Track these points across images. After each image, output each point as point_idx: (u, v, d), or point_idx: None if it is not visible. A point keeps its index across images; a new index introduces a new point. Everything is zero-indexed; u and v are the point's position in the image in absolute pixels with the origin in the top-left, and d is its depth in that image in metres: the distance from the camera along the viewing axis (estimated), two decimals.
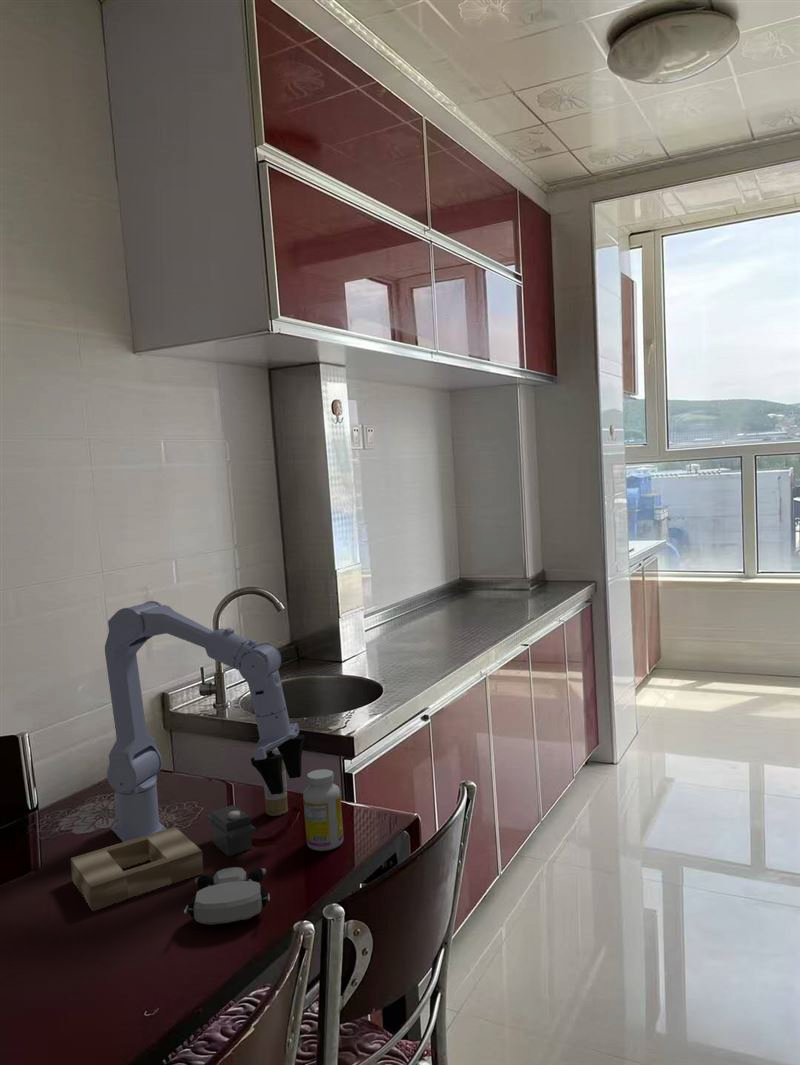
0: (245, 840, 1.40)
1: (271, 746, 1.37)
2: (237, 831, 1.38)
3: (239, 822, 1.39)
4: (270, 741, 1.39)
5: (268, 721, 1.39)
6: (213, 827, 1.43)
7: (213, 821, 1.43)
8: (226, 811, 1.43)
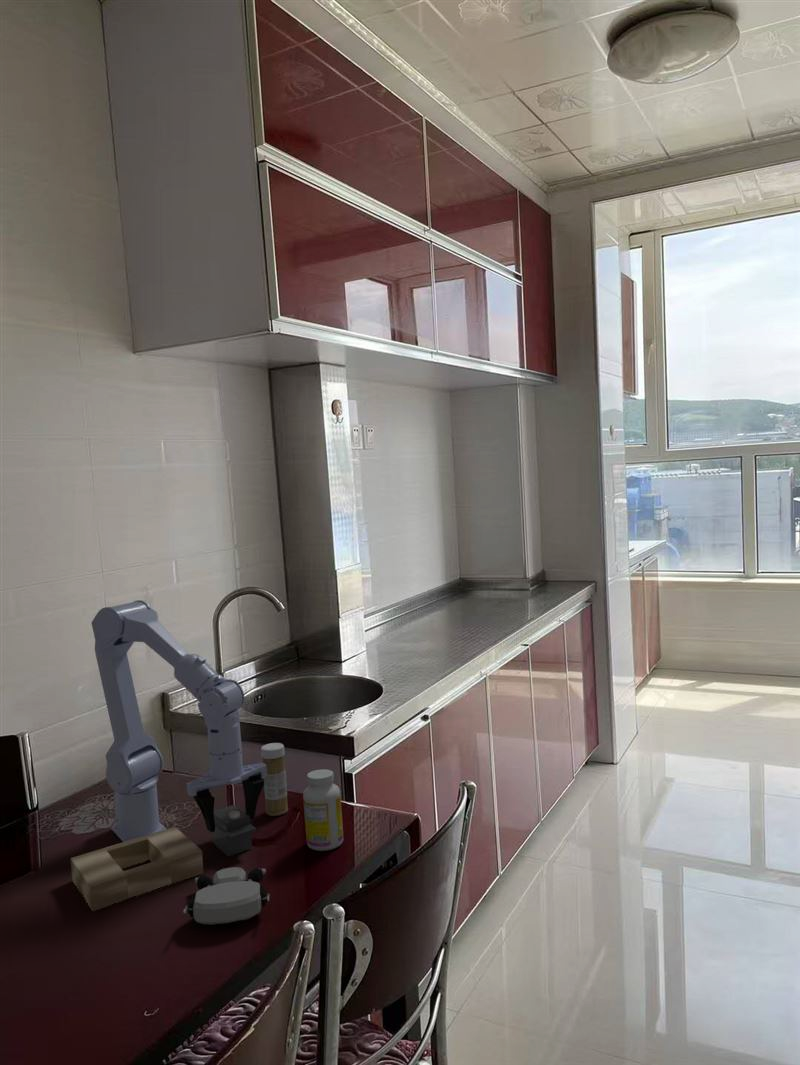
0: (245, 840, 1.40)
1: (204, 786, 1.38)
2: (237, 831, 1.38)
3: (239, 822, 1.39)
4: (212, 779, 1.40)
5: (212, 760, 1.39)
6: None
7: None
8: (226, 811, 1.43)
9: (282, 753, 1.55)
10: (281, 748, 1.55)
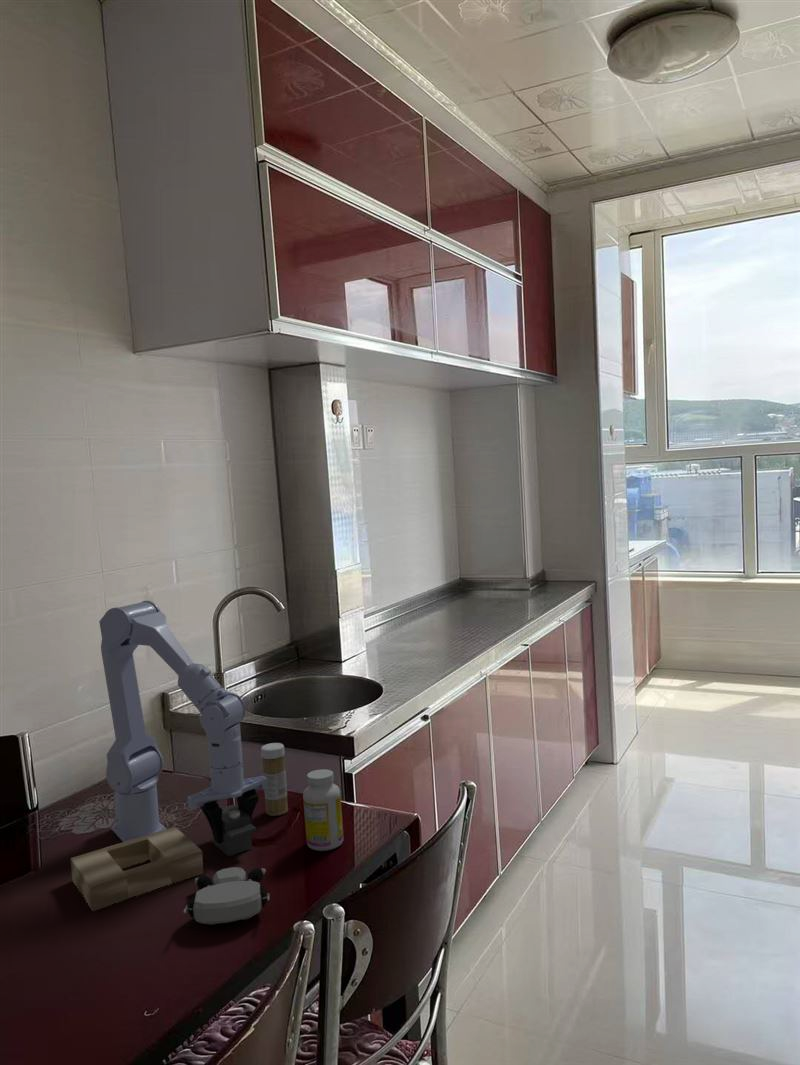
0: (245, 840, 1.40)
1: (205, 799, 1.38)
2: (237, 830, 1.38)
3: (239, 822, 1.39)
4: (213, 793, 1.40)
5: (213, 773, 1.40)
6: None
7: None
8: (226, 811, 1.43)
9: (282, 753, 1.55)
10: (281, 748, 1.55)
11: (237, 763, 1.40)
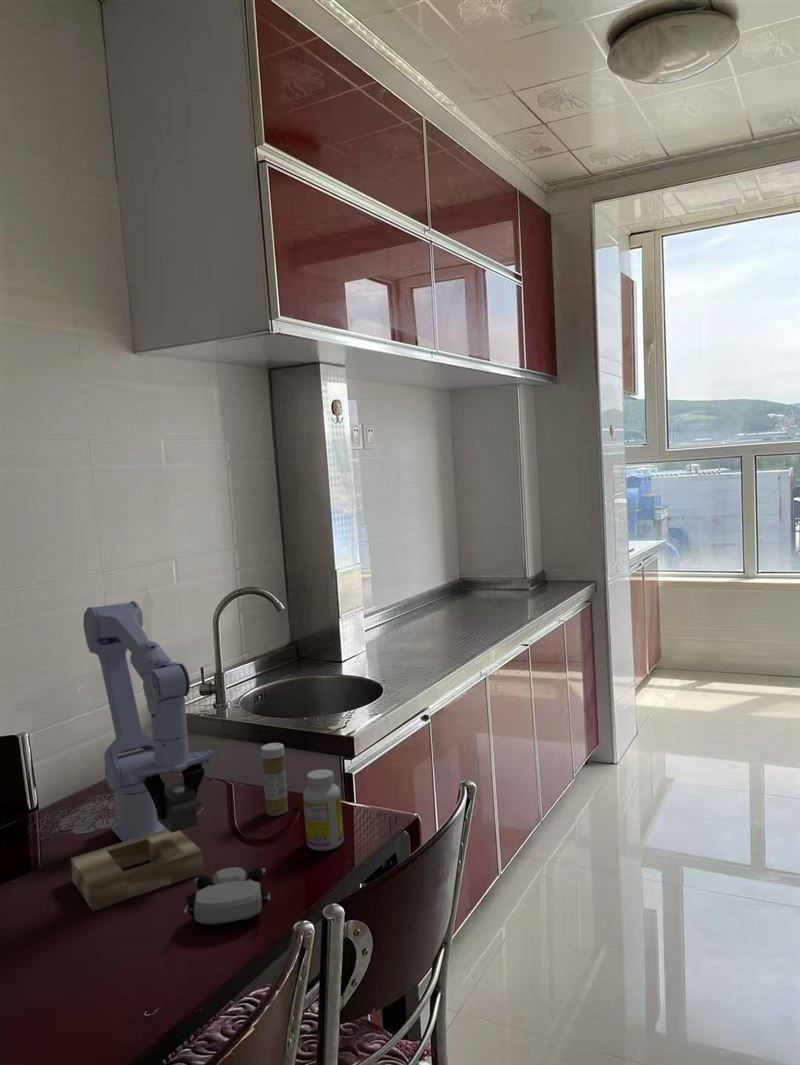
0: (190, 816, 1.34)
1: (147, 773, 1.32)
2: (181, 806, 1.32)
3: (183, 797, 1.33)
4: (155, 766, 1.34)
5: (156, 746, 1.34)
6: None
7: None
8: (171, 786, 1.37)
9: (282, 753, 1.55)
10: (281, 748, 1.55)
11: (173, 737, 1.33)
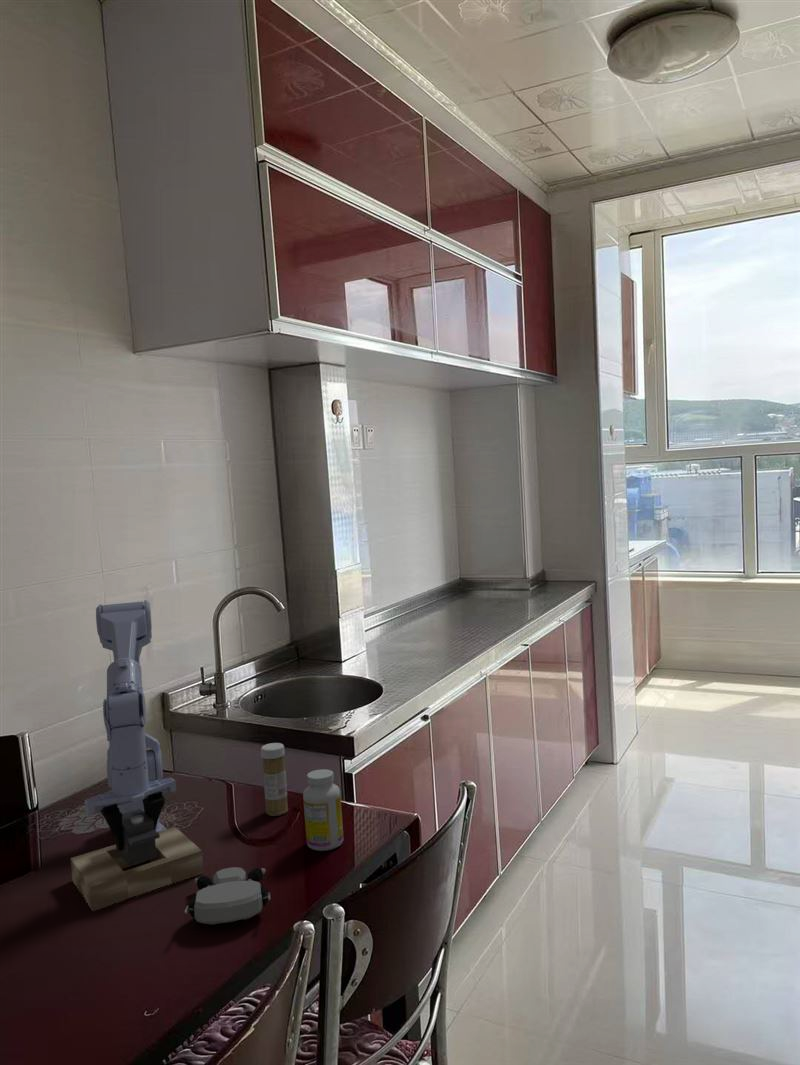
0: (149, 847, 1.30)
1: (103, 803, 1.28)
2: (138, 837, 1.28)
3: (141, 827, 1.29)
4: (113, 796, 1.30)
5: (114, 775, 1.29)
6: None
7: None
8: (130, 816, 1.33)
9: (282, 753, 1.55)
10: (281, 748, 1.55)
11: (124, 767, 1.29)
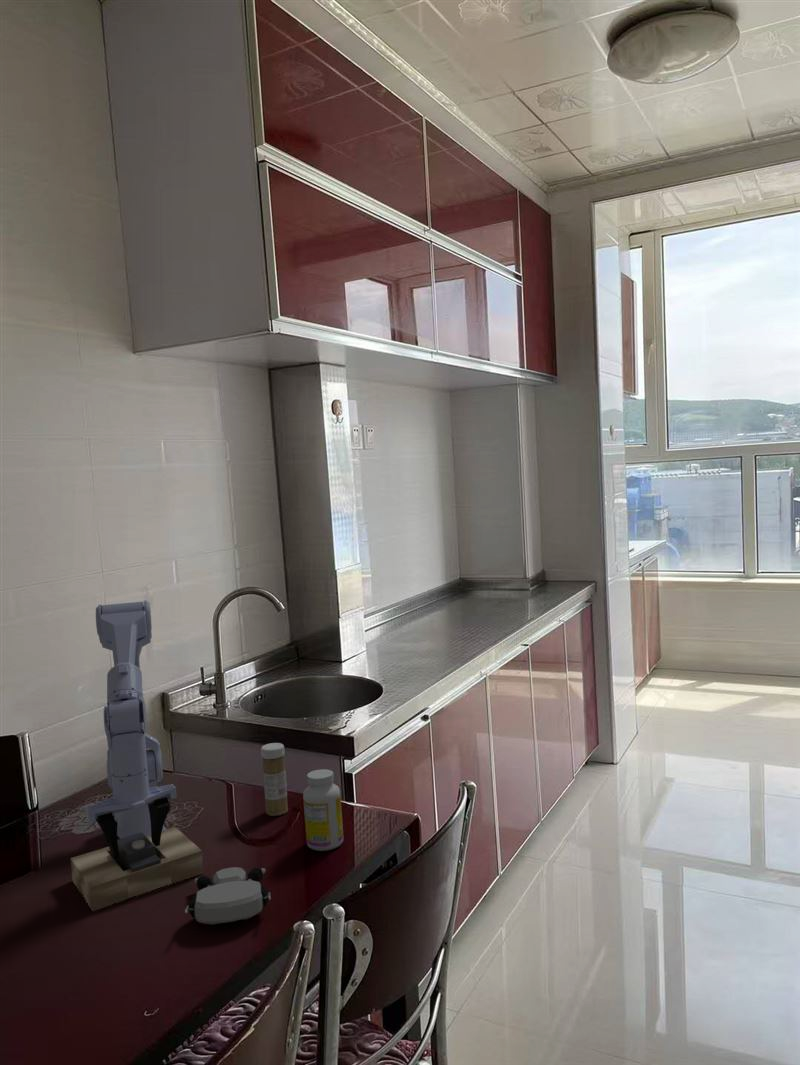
0: None
1: (104, 810, 1.28)
2: (139, 863, 1.28)
3: (143, 853, 1.29)
4: (114, 803, 1.30)
5: (114, 782, 1.30)
6: None
7: None
8: (131, 840, 1.33)
9: (282, 753, 1.55)
10: (281, 748, 1.55)
11: (125, 774, 1.29)
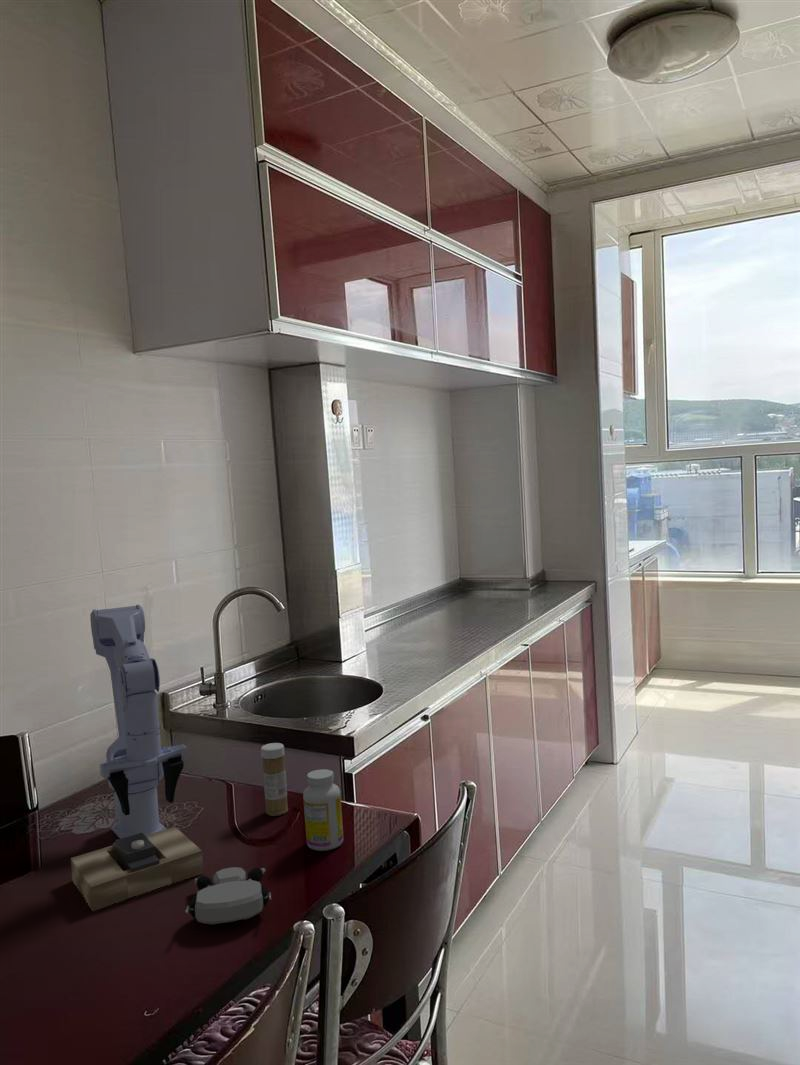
0: None
1: (118, 767, 1.33)
2: (138, 863, 1.28)
3: (142, 853, 1.29)
4: (127, 760, 1.35)
5: (128, 740, 1.35)
6: (117, 857, 1.33)
7: (117, 850, 1.33)
8: (131, 840, 1.33)
9: (282, 753, 1.55)
10: (281, 748, 1.55)
11: (141, 732, 1.34)
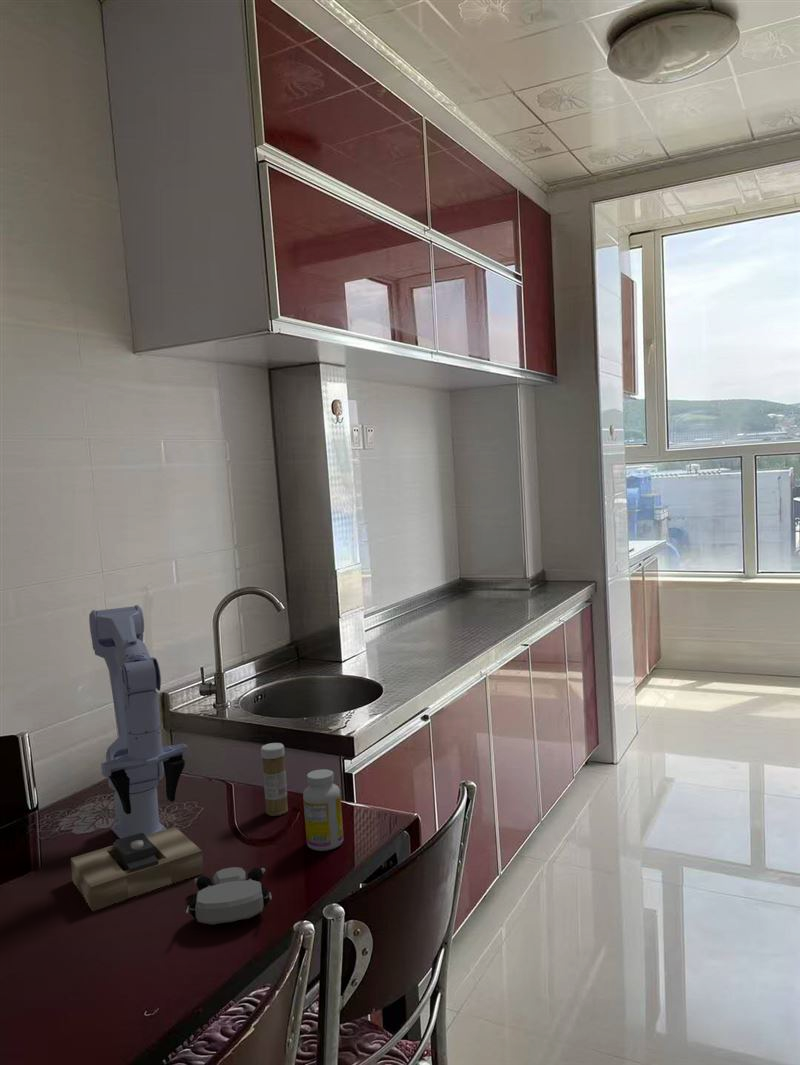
0: None
1: (119, 766, 1.33)
2: (137, 863, 1.28)
3: (141, 853, 1.29)
4: (128, 759, 1.35)
5: (129, 739, 1.35)
6: (117, 856, 1.34)
7: (117, 850, 1.33)
8: (131, 840, 1.33)
9: (282, 753, 1.55)
10: (281, 748, 1.55)
11: (142, 731, 1.34)
